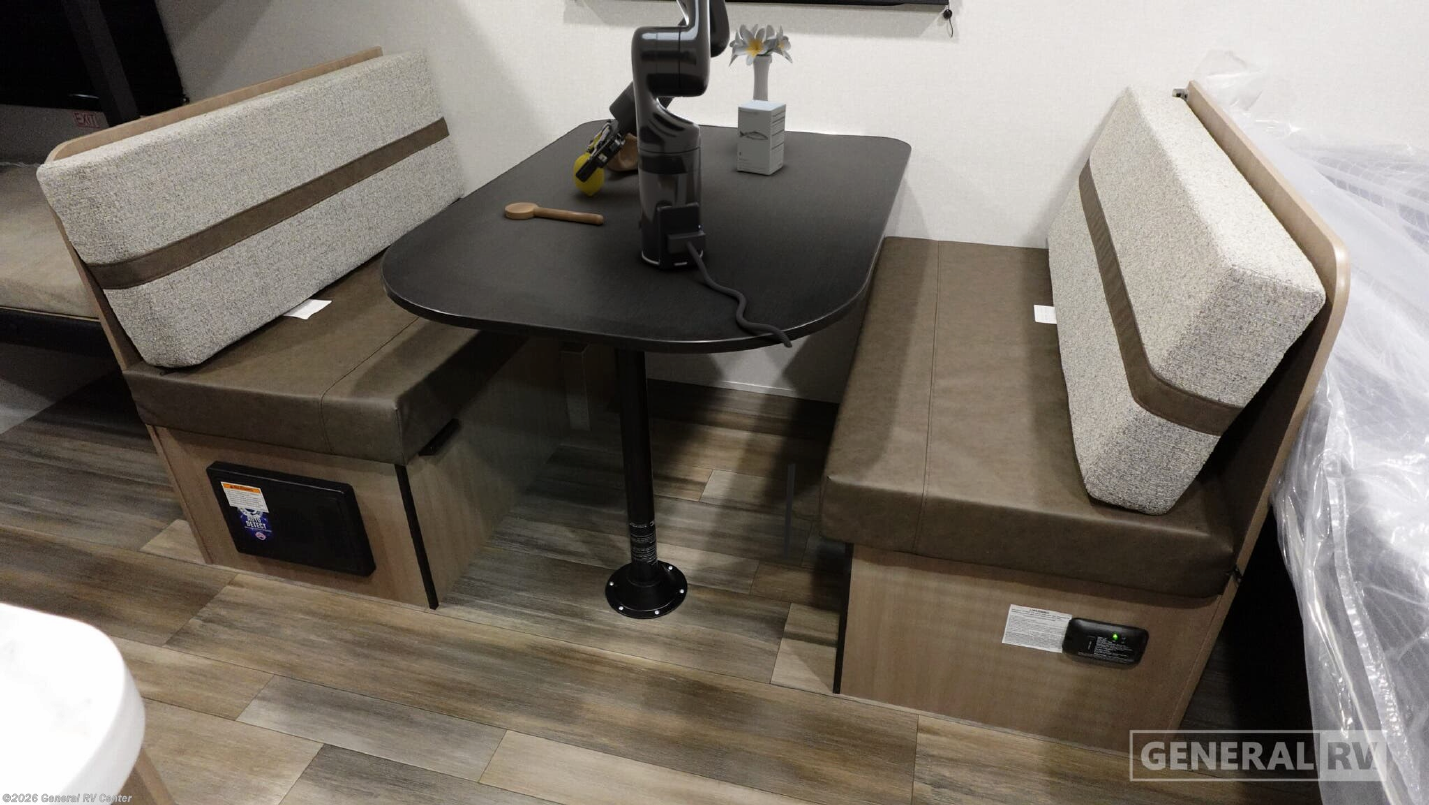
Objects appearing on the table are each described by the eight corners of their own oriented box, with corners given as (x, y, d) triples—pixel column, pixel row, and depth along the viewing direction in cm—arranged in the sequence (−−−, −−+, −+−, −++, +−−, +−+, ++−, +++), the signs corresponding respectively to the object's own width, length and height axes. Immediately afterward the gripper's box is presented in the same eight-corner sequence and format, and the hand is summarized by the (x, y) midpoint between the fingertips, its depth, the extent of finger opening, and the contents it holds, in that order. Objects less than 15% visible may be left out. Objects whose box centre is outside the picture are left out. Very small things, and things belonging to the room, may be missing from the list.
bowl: (666, 175, 168) (650, 123, 164) (599, 192, 172) (581, 142, 167) (681, 149, 183) (667, 101, 179) (619, 165, 187) (603, 119, 182)
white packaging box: (735, 171, 176) (736, 105, 169) (751, 161, 181) (752, 98, 175) (769, 176, 173) (771, 109, 166) (784, 166, 178) (787, 102, 172)
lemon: (578, 201, 160) (575, 157, 155) (572, 193, 164) (568, 149, 160) (608, 198, 161) (605, 154, 157) (601, 189, 166) (598, 147, 161)
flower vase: (778, 135, 199) (782, 16, 186) (795, 158, 183) (800, 29, 171) (721, 137, 198) (721, 17, 185) (733, 160, 182) (734, 30, 169)
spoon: (610, 219, 151) (610, 210, 151) (595, 230, 147) (595, 220, 146) (516, 207, 157) (515, 198, 156) (499, 217, 153) (498, 208, 152)
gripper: (623, 80, 160) (562, 149, 165) (628, 97, 148) (562, 171, 152) (653, 109, 163) (593, 175, 168) (660, 128, 151) (595, 199, 156)
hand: (579, 173), depth 160 cm, fingers closed on lemon, 5 cm apart
